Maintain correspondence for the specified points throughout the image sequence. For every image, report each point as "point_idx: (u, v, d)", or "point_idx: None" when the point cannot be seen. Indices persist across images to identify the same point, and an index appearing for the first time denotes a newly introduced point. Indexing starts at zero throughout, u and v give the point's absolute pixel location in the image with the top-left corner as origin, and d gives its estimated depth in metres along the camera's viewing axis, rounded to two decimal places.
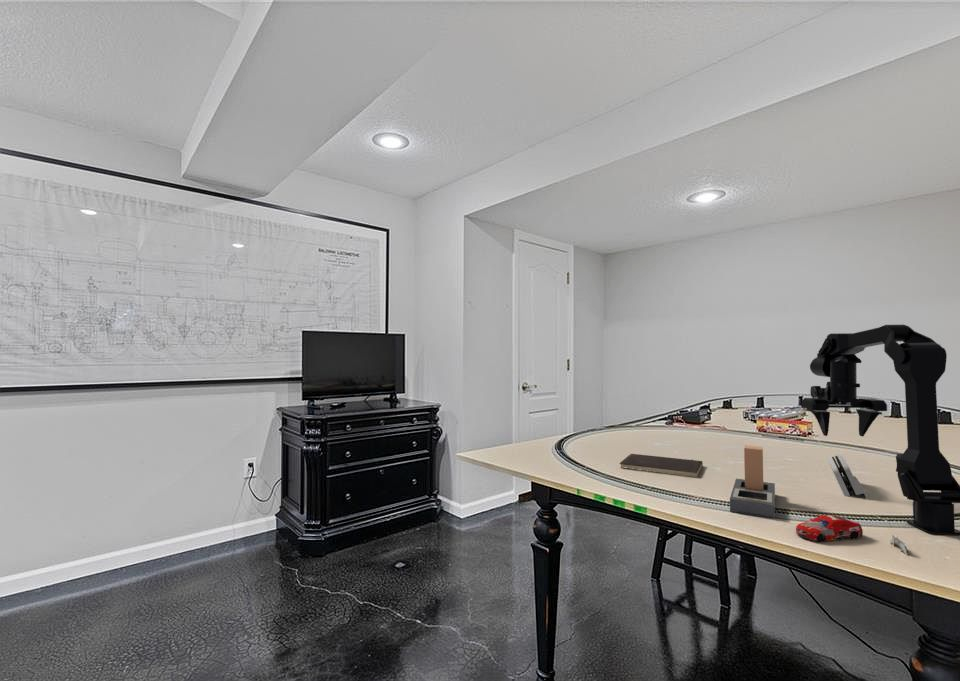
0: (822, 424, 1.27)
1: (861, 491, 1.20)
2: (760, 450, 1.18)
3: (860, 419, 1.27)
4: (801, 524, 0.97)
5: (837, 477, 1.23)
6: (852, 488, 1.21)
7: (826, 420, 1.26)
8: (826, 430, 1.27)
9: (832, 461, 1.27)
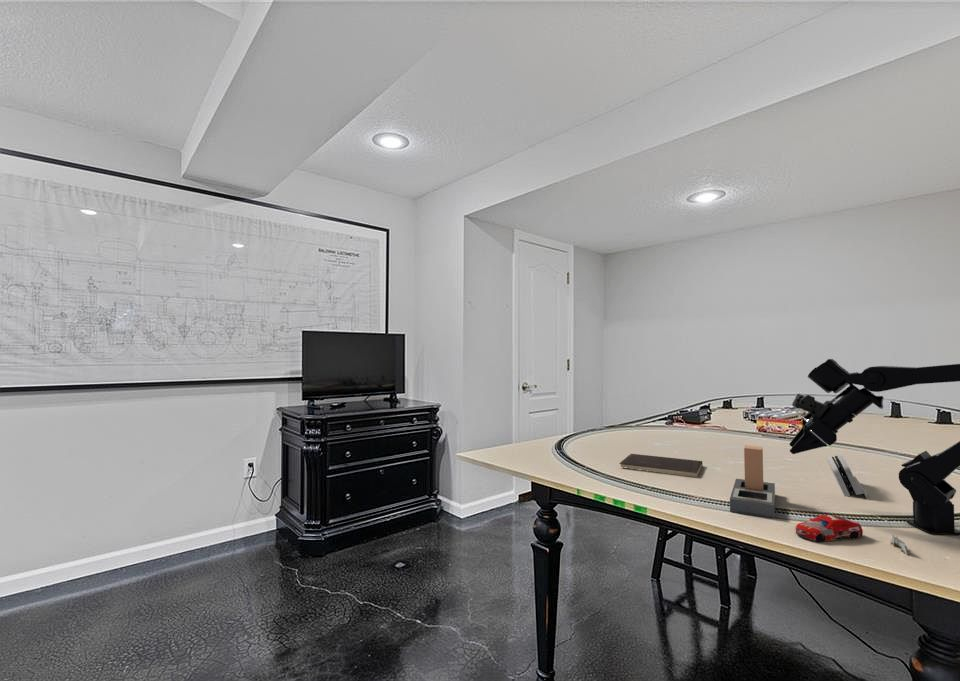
0: (804, 447, 1.11)
1: (861, 491, 1.20)
2: (760, 450, 1.18)
3: (802, 432, 1.19)
4: (801, 524, 0.97)
5: (837, 477, 1.23)
6: (852, 488, 1.21)
7: None
8: None
9: (832, 461, 1.26)
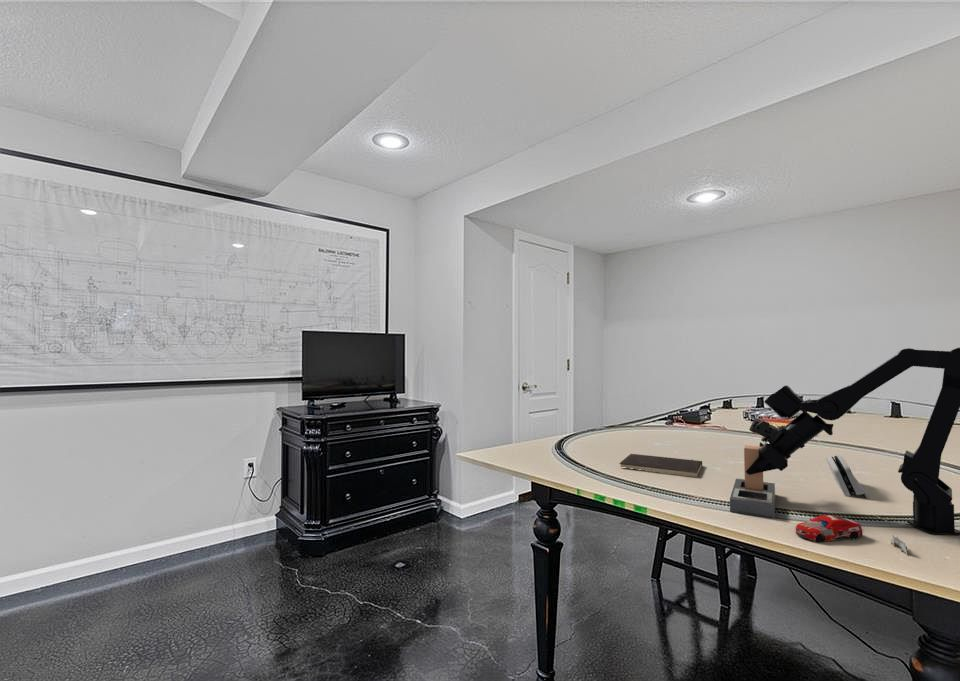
0: (759, 468, 1.17)
1: (862, 491, 1.19)
2: None
3: None
4: (800, 524, 0.97)
5: (838, 477, 1.22)
6: (853, 488, 1.20)
7: None
8: (755, 473, 1.18)
9: (832, 461, 1.26)
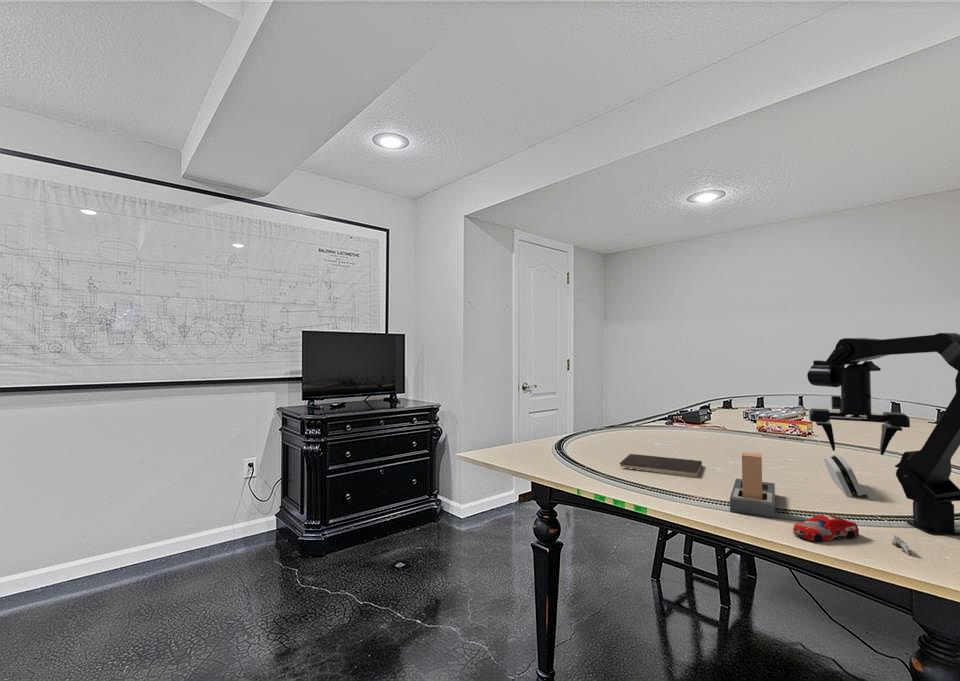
0: (828, 437, 1.16)
1: (863, 492, 1.19)
2: (759, 457, 1.11)
3: (881, 435, 1.12)
4: (798, 524, 0.97)
5: (839, 478, 1.22)
6: (855, 489, 1.20)
7: (829, 433, 1.15)
8: (832, 444, 1.16)
9: (833, 462, 1.26)
